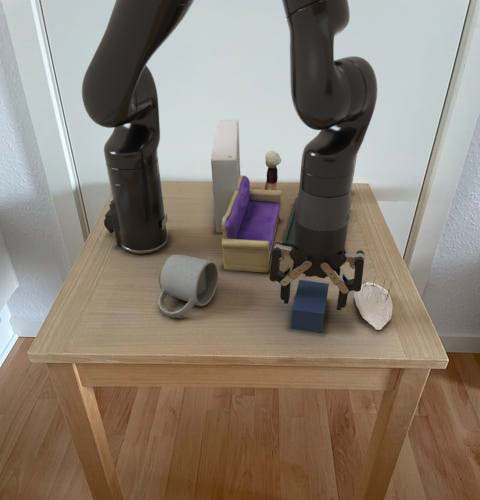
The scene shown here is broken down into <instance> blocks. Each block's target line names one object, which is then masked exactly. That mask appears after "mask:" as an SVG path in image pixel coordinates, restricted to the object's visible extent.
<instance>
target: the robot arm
mask: <svg viewBox="0 0 480 500" xmlns="http://www.w3.org/2000/svg"><path fill="white" fill-rule="evenodd" d="M194 2H195V0H115V2H114V6H113V8H112V11H111V14H110V16H109V20H108V23H107V26H106V28H105V30H104V33H103V35H102V38H101V39H100V42H99V44H98V46H97V48H96V50H95V52H94V54H93V56H92V59H91V61H90V63H89V65H88V66H87V69H86V71H85V73H84V77H83V79H82V83H81V99H82V103H83V106H84V109H85V112H86V114H87V116H88V117H89V119H90V120H91V121H92V122H93V123H95V124H96V125H98V126H100V127H103V128H108V129H113V130H112V132H111V135H110V136H109V137H108V139H107V140H106V142H105V143H104V146H103V155H104V161H105V165H106V170H107V176H108V181H109V186H110V191H111V197H112V199H111V200H110V202H109V205H108V206H109V210H107V211H106V213H105V214H104V217H105V218H104V219H103V226H104V227H105V229H106V230H107V231H108V232H109V234H113V233H114V237H115V241H116V247H117V248H121V249H122V250H123V251H125V252H127V253H129V254H134V255H148V254H153V253H156V252H158V251H161V250H162V249H164V248H165V247H166V246H167V244H168V242H169V237H168V231H167V223H168V221H169V220H168V214H167V213H166V214H165V205H164V197H163V189H162V188H163V187H162V181H161V180H162V179H161V173H160V172H161V171H160V163H159V154H158V149H159V145H160V141H161V125H160V109H159V107H160V106H159V96H158V89H157V85H156V82H155V78H154V76H153V74H152V72H151V70H150V68H149V67H148V66H147V64H148V63H149V62H150V60H151V58H152V57H153V55H154V54H155V53H156V52H157V51H158V49H160V47H161V46H163V44H164V43H165V42H166V41H167V40H168V38H169V37H170V36H171V35H172V34H173V33H174V31H175V30H176V29H177V28H178V27H179V25H180V24H181V23H182V21H183V20H184V19H185V17H186V16H187V14H188V12H189V11H190V9H191V7H192V6H193V4H194ZM281 3H282V7H283V11H284V15H285V19H286V23H287V27H288V29H289V30H288V31H289V78H290V80H289V81H290V82H289V83H290V84H289V85H290V86H289V87H290V96H291V102H292V105H293V108H294V110H295V113H296V115H297V116H298V118H299V119H300V121H301V122H302V123H303V124H304V125H305V126H306V127H307V128H309V129H311V130H314V131H319V132H318V133H317V135H316V136H314V137H313V138H312V139H311V140H310V141H309V142H307V143H306V145H304V147H303V150H302V153H301V161H300V175H299V187H298V191H297V196H296V197H297V204H296V209H295V215H296V218H295V232H294V244H293V246H292V247H288V246H282V241H276V242H274V244H273V247H272V250H271V256H270V258H271V259H270V265H269V277H268V279H269V281H270V282H272V283H273V282H278V283H279V284H280V293H279V298H280V300H281V301H283V304H286V305H288V304H289V302H290V299H291V285H292V282H293V281H296V279H298V278H299V277H300V276H301V275H302V274H303V275H304V276H305V277H317V278H320V279H326V278H329V280H330V281H331V283H332V284H333V285H334V286H336V287H337V288H338V296H337V304H336V311H339V312H340V311H342V309H344V308H346V307H347V304H348V296H349V293H350V292H352V291H353V292H355V291H356V292H359V291H360V290H361V286H362V284H363V277H364V275H363V274H364V266H365V255H366V253H365V251H364V250H361V249H360V250H357V251H356V253H353V252H352V253H351V252H347V251H346V249H345V247H346V240H347V234H348V229H349V228H348V227H349V220H350V217H351V207H352V190H351V187H352V188H353V183H352V181H354V177H353V174H354V175H355V171H354V167H355V168H356V165H355V159H356V156H357V157H358V153H359V151H360V149H361V146H362V144H363V143H364V139H365V138H366V137H365V136H366V134H367V131H368V128H369V126H370V123H371V121H372V118H373V115H374V112H375V109H376V104H377V100H378V80H377V75H376V73H375V70H374V68H373V66H372V64H370V62H369V61H368V60H367V59H365V58H363V57H361V56H356V55H353V56H345V57H341V58H339V59H335V56H334V55H335V54H334V53H335V51H334V49H335V38H336V37H337V36H338V35H340V34H341V33H342V32H343V31H345V29H346V28H347V27H348V25H349V23H350V18H351V15H350V13H351V12H350V6H349V0H281ZM356 160H357V159H356ZM288 256H289V258H290V259H291V260H292V262H291V264H290V266H288V267H287V268H286V269H285V270H284V271H283V270H280V267H281V261H284V260H285V259H286V257H288ZM346 262H347V263H348V264H349V267H350V268H351V269H352V270H354V273H353V276H354V277H353V278H350V279H349V278H348V276H347V275H346V274H345V272H344V268H343V267H342V266H343V265H345V263H346Z"/></svg>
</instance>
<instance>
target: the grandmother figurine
mask: <svg viewBox="0 0 480 500" xmlns="http://www.w3.org/2000/svg"><path fill="white" fill-rule="evenodd" d="M264 157H265V158H264V159H265V166H266V167H267V171H266V181H265V184H264V187H263V190H275V191H277V186H278V179H279V173H278V168H277V166H278V165H280V164H281V162H282V159H281V155H280V154H279V153H278V152H276V151H275V150H274V149H273V150H272V149H271V150H268V151H267V152H266V153H265V156H264Z"/></svg>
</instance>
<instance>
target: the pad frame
mask: <svg viewBox="0 0 480 500" xmlns="http://www.w3.org/2000/svg"><path fill="white" fill-rule="evenodd" d="M296 204H297V196H296V197H295V199H294V203H293V206H292V209H291V212H290V216H289V218H288V221H287V225H286V228H285V231H284V234H283V238H282V241H281V243H282V246H288V247H292V246H293V244H294V232H295V218H296V215H295V209H296Z"/></svg>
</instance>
